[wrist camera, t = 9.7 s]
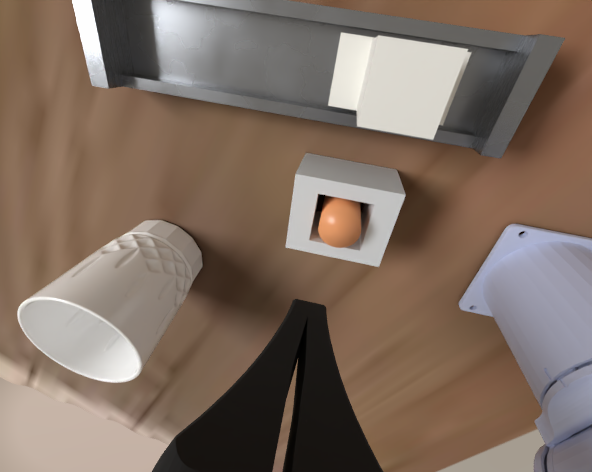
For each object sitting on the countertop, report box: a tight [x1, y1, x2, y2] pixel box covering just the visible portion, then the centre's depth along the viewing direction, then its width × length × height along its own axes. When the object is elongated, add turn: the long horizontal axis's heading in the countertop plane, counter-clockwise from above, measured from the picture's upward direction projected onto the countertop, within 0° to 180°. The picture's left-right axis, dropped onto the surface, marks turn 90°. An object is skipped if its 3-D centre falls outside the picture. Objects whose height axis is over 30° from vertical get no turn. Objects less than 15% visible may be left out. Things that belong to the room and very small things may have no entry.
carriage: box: [328, 32, 472, 140], centre depth 13 cm, size 6×3×6 cm, turn 82°
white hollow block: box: [286, 153, 406, 267], centre depth 19 cm, size 6×5×4 cm
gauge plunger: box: [318, 195, 361, 248], centre depth 18 cm, size 2×2×4 cm
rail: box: [72, 0, 565, 158], centre depth 15 cm, size 22×5×3 cm, turn 82°
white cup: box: [17, 220, 203, 383], centre depth 22 cm, size 8×8×10 cm
